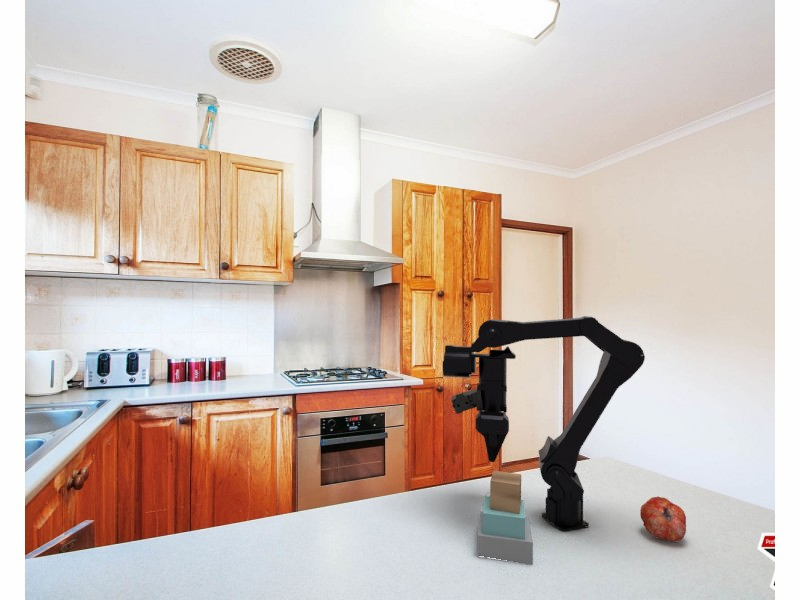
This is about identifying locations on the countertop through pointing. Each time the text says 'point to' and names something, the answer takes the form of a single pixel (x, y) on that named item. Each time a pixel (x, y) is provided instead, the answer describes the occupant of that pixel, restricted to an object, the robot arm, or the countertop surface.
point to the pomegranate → (663, 519)
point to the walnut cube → (505, 492)
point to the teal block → (503, 522)
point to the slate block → (506, 545)
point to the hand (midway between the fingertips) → (491, 453)
